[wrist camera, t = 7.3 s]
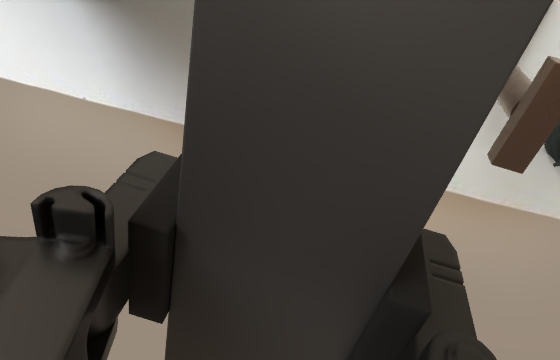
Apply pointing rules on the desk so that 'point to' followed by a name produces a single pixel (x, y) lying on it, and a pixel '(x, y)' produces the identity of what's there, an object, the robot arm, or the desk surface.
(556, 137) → the mug
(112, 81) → the desk surface
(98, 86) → the desk surface
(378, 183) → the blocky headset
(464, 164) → the desk surface
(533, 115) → the stand
